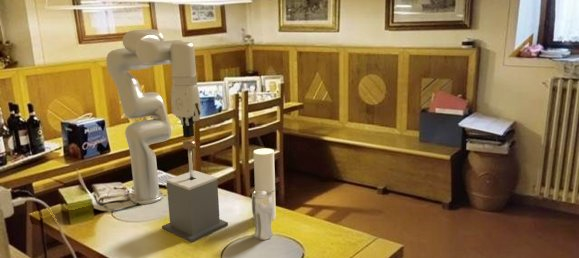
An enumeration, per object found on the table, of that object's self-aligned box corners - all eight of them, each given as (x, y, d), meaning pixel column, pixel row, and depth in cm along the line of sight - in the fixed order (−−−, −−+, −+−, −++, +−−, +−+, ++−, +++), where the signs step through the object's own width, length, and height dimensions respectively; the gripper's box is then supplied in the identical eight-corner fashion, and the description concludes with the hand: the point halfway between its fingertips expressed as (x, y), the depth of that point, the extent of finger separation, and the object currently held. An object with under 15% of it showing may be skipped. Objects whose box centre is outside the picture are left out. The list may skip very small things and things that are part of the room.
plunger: (173, 190, 161) (169, 142, 157) (194, 182, 168) (191, 136, 164) (190, 196, 156) (186, 147, 151) (211, 188, 162) (208, 140, 158)
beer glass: (258, 242, 154) (256, 199, 150) (249, 233, 160) (248, 192, 156) (277, 237, 157) (276, 195, 153) (268, 229, 163) (267, 188, 159)
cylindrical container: (276, 213, 175) (275, 148, 169) (274, 222, 168) (272, 154, 162) (257, 213, 176) (255, 148, 170) (254, 221, 169) (251, 154, 163)
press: (162, 229, 164) (157, 180, 160) (200, 212, 177) (197, 166, 173) (191, 242, 155) (187, 191, 150) (230, 224, 167) (228, 176, 163)
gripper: (160, 80, 155) (165, 135, 159) (190, 84, 145) (194, 142, 150) (179, 78, 160) (183, 130, 165) (209, 81, 151) (212, 137, 155)
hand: (188, 136), depth 157 cm, fingers closed
